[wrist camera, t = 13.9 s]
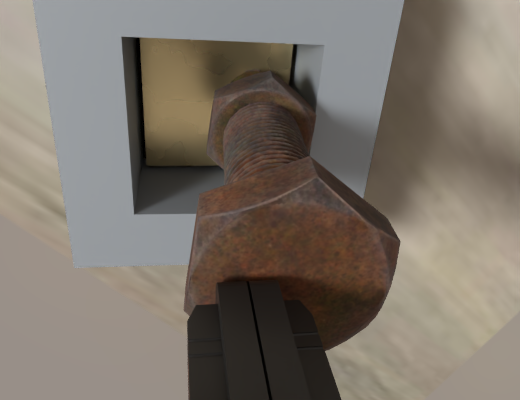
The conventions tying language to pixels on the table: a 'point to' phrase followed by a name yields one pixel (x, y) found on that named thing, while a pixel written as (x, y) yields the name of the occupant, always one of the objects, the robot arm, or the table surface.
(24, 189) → the table surface
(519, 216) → the table surface
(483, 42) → the table surface
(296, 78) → the socket block
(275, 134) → the bolt
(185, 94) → the beige square tile
